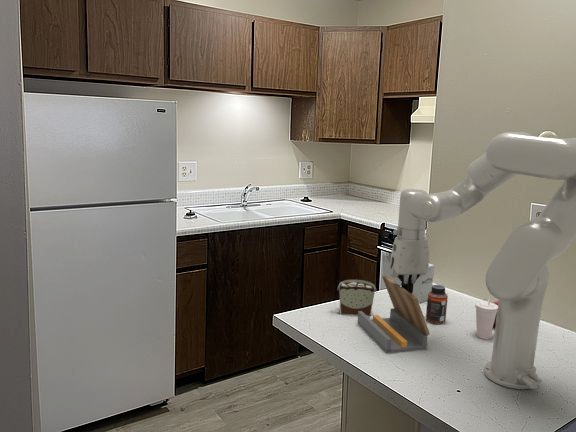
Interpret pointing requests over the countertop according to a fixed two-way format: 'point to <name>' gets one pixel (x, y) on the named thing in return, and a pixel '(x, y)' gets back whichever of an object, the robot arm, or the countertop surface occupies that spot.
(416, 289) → the supplement box
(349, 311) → the food container
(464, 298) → the countertop surface
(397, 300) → the lid
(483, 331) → the smoothie
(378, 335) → the bar
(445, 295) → the supplement bottle
